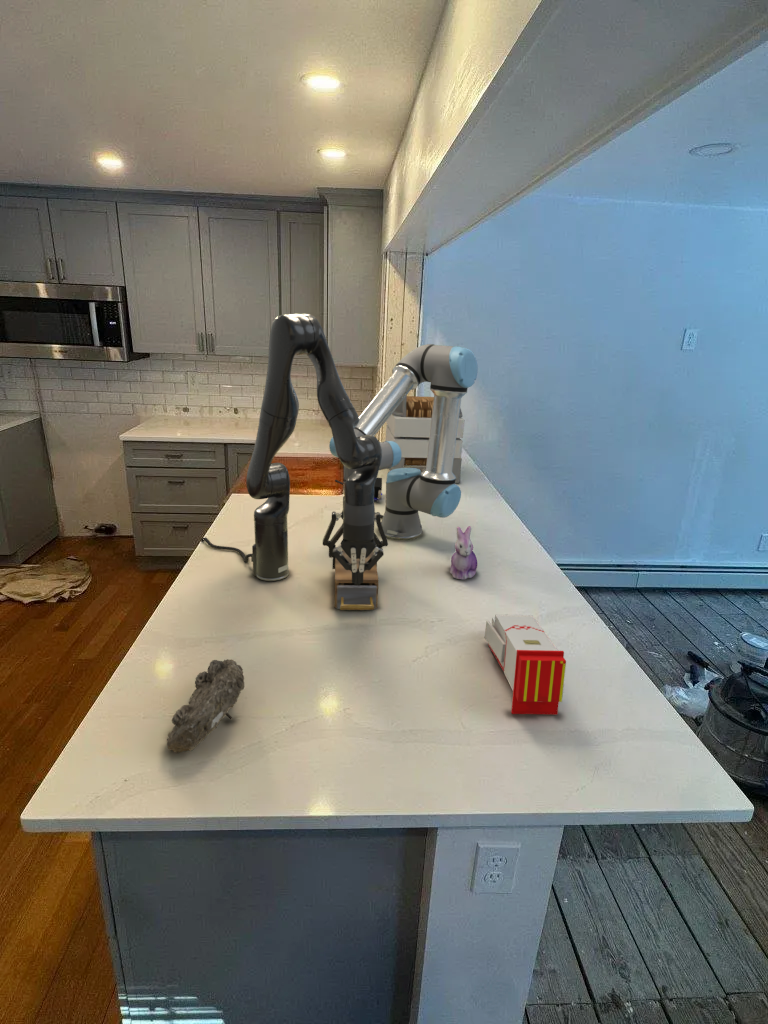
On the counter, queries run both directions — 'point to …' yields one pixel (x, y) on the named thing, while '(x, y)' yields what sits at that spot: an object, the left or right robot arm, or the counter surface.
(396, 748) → the counter surface
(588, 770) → the counter surface
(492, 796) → the counter surface
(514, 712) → the toy
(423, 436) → the white crate
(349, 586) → the drawer
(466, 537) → the figurine
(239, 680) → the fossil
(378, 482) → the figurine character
